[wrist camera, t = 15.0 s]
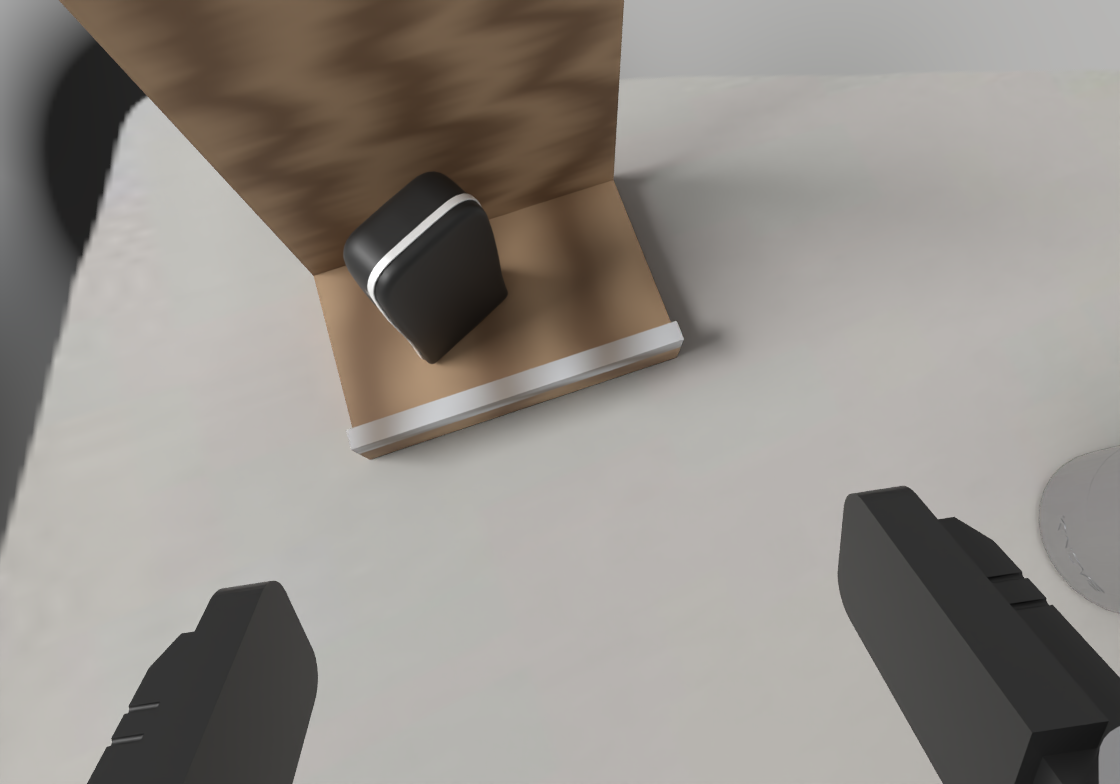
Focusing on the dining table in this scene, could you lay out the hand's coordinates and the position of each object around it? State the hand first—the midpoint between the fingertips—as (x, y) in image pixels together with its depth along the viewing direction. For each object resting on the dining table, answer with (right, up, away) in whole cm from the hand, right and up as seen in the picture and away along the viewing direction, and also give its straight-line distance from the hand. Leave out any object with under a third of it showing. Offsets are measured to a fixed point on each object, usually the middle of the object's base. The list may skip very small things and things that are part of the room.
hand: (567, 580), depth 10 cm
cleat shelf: (-4, +7, +34) cm, 35 cm away
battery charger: (-7, +8, +32) cm, 34 cm away
